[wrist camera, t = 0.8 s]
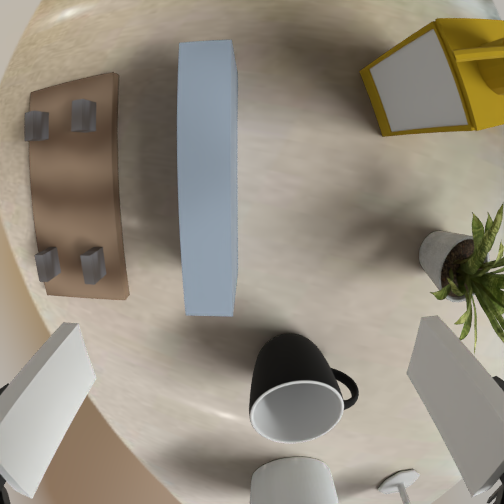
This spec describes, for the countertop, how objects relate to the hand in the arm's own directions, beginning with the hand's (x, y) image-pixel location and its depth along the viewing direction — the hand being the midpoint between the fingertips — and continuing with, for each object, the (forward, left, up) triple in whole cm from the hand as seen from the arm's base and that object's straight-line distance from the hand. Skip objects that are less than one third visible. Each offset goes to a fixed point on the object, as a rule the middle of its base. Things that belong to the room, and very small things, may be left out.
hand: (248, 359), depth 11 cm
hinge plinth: (-4, -19, -22) cm, 29 cm away
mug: (+16, +6, -22) cm, 28 cm away
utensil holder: (+43, +7, -22) cm, 49 cm away
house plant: (+3, +23, -22) cm, 32 cm away
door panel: (-5, -3, -22) cm, 23 cm away
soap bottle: (-13, +13, -22) cm, 29 cm away
